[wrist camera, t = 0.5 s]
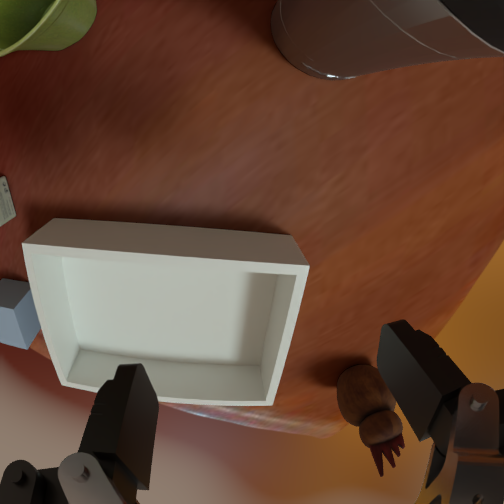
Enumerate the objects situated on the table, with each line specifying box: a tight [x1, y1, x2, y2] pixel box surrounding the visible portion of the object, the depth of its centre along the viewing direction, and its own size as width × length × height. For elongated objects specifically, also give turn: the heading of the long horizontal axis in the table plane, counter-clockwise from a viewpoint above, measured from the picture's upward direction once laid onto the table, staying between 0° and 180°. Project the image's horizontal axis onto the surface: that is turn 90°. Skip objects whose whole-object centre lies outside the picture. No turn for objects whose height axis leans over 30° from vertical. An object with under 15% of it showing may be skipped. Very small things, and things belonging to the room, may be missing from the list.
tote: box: [22, 218, 310, 406], centre depth 25 cm, size 16×22×6 cm
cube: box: [0, 278, 41, 349], centre depth 24 cm, size 5×5×5 cm
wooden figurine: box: [337, 365, 405, 477], centre depth 29 cm, size 7×6×15 cm
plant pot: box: [0, 0, 97, 57], centre depth 12 cm, size 9×9×9 cm
